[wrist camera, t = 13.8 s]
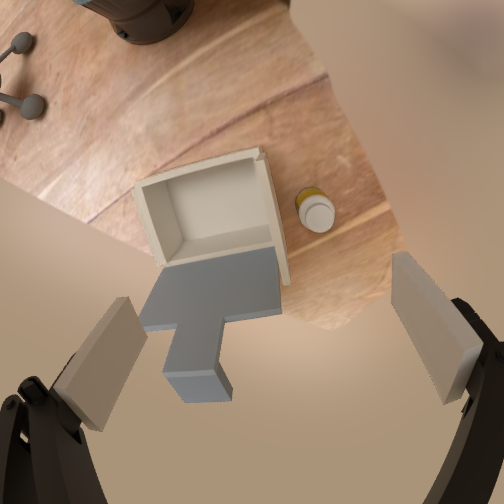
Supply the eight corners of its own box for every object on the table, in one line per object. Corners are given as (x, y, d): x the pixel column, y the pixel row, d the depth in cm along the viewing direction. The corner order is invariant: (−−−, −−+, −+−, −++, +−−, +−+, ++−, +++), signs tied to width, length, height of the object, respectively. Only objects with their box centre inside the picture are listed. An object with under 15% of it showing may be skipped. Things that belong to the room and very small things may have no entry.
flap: (112, 372, 25) (137, 401, 27) (283, 361, 22) (292, 394, 25) (163, 267, 42) (176, 295, 44) (276, 245, 39) (283, 277, 42)
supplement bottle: (288, 196, 47) (293, 211, 38) (317, 180, 46) (328, 191, 37) (304, 223, 49) (312, 244, 40) (332, 208, 48) (346, 225, 39)
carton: (154, 173, 47) (81, 205, 27) (265, 144, 44) (261, 150, 24) (177, 247, 52) (126, 316, 32) (284, 225, 49) (292, 291, 29)
